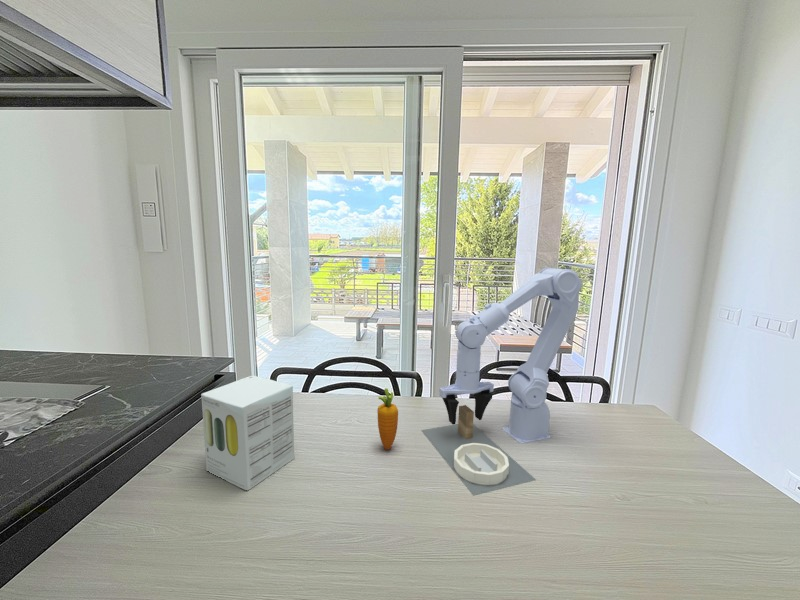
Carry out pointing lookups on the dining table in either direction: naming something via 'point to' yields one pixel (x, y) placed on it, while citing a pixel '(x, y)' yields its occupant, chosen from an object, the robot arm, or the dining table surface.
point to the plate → (481, 464)
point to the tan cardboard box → (465, 422)
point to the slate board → (451, 439)
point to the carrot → (387, 420)
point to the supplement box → (248, 430)
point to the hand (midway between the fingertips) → (465, 420)
